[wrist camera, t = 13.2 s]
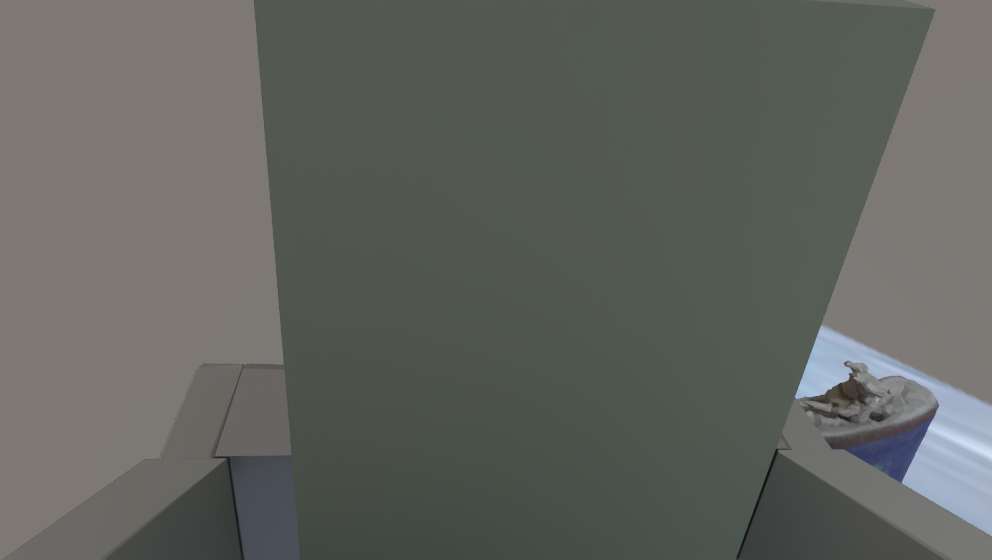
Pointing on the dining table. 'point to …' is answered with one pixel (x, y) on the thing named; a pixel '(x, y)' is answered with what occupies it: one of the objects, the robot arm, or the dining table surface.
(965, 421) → the dining table surface
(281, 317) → the sage column
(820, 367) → the dining table surface
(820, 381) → the dining table surface
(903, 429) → the flask
